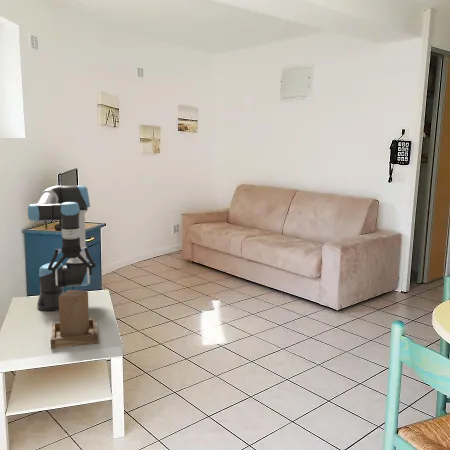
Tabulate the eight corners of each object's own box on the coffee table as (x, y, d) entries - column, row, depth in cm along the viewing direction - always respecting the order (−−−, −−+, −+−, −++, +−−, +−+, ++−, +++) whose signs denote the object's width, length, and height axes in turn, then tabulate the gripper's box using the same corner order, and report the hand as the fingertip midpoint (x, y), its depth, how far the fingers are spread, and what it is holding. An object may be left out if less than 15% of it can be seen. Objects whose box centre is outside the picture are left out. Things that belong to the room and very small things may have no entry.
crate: (52, 330, 225) (51, 322, 224) (96, 326, 231) (95, 318, 230) (50, 348, 206) (50, 339, 205) (98, 343, 212) (98, 335, 211)
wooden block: (80, 340, 213) (78, 297, 209) (59, 338, 214) (57, 295, 210) (90, 331, 222) (88, 290, 219) (70, 329, 224) (68, 288, 220)
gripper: (40, 240, 202) (42, 288, 207) (100, 238, 210) (101, 283, 214) (41, 236, 209) (43, 282, 214) (99, 234, 217) (100, 278, 221)
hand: (72, 283), depth 214 cm, fingers open, 13 cm apart
